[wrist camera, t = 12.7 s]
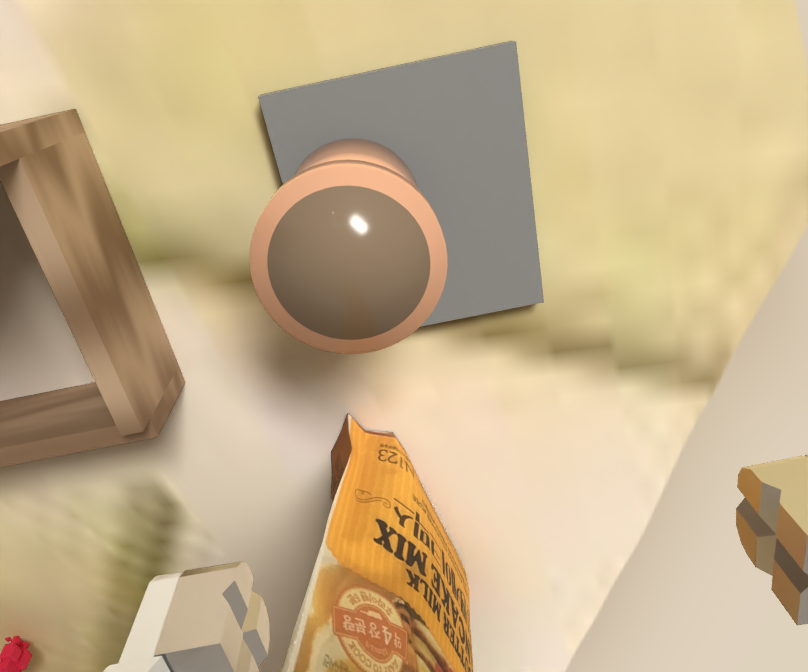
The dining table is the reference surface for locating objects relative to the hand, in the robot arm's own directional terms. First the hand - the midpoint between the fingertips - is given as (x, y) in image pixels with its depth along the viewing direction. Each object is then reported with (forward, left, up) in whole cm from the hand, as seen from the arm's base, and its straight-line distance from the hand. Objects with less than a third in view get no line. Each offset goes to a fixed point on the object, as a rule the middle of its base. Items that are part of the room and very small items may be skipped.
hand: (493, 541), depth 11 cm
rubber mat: (0, 0, -22) cm, 22 cm away
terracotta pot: (-1, -3, -21) cm, 21 cm away
